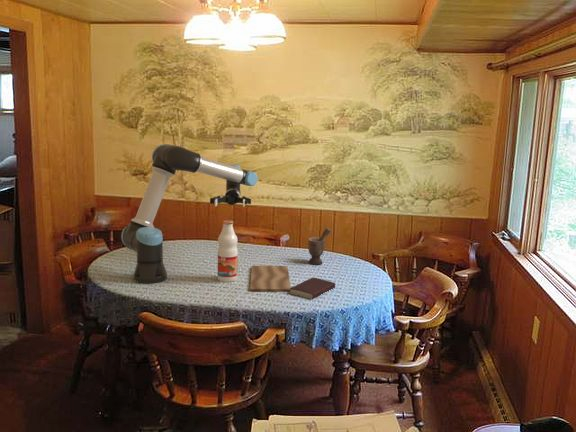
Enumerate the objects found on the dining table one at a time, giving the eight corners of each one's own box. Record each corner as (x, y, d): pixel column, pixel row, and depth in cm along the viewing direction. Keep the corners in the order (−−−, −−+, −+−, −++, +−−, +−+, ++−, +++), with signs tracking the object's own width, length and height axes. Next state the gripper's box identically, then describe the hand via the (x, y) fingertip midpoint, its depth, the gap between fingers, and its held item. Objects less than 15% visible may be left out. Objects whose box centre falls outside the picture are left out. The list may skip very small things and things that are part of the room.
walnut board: (250, 291, 235) (250, 288, 235) (251, 267, 271) (251, 265, 270) (290, 291, 236) (291, 289, 236) (287, 268, 272) (287, 265, 271)
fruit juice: (241, 278, 254) (242, 220, 248) (230, 283, 245) (230, 224, 240) (225, 275, 258) (225, 218, 252) (213, 280, 250) (213, 221, 244)
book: (335, 289, 243) (335, 282, 243) (312, 300, 228) (313, 293, 227) (312, 283, 250) (312, 277, 250) (288, 294, 235) (289, 287, 234)
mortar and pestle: (330, 262, 285) (331, 225, 281) (328, 266, 276) (330, 229, 272) (308, 260, 286) (310, 224, 283) (306, 265, 278) (307, 227, 274)
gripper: (256, 204, 279) (255, 211, 259) (208, 203, 278) (203, 211, 257) (256, 189, 278) (255, 196, 257) (208, 189, 277) (203, 195, 256)
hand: (229, 203), depth 257 cm, fingers open, 13 cm apart
